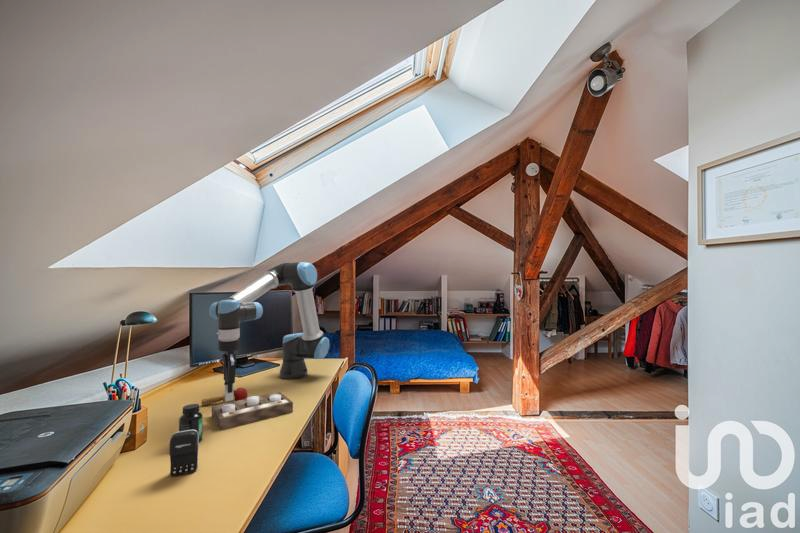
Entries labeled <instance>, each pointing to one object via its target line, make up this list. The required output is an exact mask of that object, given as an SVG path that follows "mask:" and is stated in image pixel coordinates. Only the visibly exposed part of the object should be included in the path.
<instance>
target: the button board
mask: <svg viewBox="0 0 800 533" xmlns="http://www.w3.org/2000/svg"><path fill="white" fill-rule="evenodd" d="M274 394H280V395H281V400H280V401H275V402H270V396H271V395H274ZM258 396H259V405H257V406H253V407H248V408H247V398H246V399H243V400H238V401H234V402H229V403H221V404H216V405H211V417H212V419H213V421H214V422H215V424H216V426H217V429H218V430H219V431H222V430H226V429H229V428H230V429H231V428H234V427H238V426H241V425H242V426H243V425H245V424H250V423H255V422H258V420H259V421H261V420H262V419H263V420H266V418H267V419H271V418H273V417H278V416H282V415H286V414H290V413H293V412H294V402H293V401H292V399H289V397H287V396H286V395H285V394H283V393H282V392H280V391H277V392H272V393H268V394H262V395H258ZM227 404H235V411H231V412H226V413H222V406H224V405H227ZM270 417H271V418H270ZM254 421H255V422H254Z"/></svg>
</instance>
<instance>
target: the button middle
mask: <svg viewBox="0 0 800 533" xmlns="http://www.w3.org/2000/svg"><path fill="white" fill-rule="evenodd" d="M259 396H260V395H251V396H247V398H246V399H247V408H248V407H253V406H257V405H259Z"/></svg>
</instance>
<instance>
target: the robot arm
mask: <svg viewBox="0 0 800 533" xmlns="http://www.w3.org/2000/svg"><path fill="white" fill-rule="evenodd" d="M317 281H318V272H317V269H316V267H315V266H314V264H312V263H310V262H304V261H301V262H299V261H298V262H283V263H280V264H277V265H274V266H273V267H271V268H270V269H268V270H266V271H265V272H263V274H262V276H260V277H259V278H257V279H255V280H254V281H253V282H251V283H249V284H248V285H247V286H245V287H243V288H241V289H240V290H238V291H237V292H235V293H234V294H233V295H231V296H229V297H228V298H226V299H224V300H223V299H222V300H220V301H215V302H213V303H211V305H210V306H209V310H208V312H209V316H210V317H211V318H212V319H213V320H217V323H218V324H217V327H218V331H217V332H216V335H218V338H217V339H218V340H219V341H217V344H218V345H217V350H218V351H219V352H223V354H222V356H221V357H222V366H223V367H222V368H223V381H224V383H223V385H224V396H225V401H231V400H234V398H233V389H234V384H235V383H236V368H237V359H236V358H237V355H236V354H235V351H238V350H239V349H240V345H241V344H240V343H241V341H240V339H239V338H240V337H241V333H240V332H241V331H240V330H241V328H240V327H241V323H243V322H249V321H250V322H251V321H255V320H258V319H260V318H261V317H262V316H263V312H264V310H263V309H264V308H263V306H262V304H261V303H259V302H257V301H256V300H257V299H258V298H260V297H262V296H263V295H264V294H266V293H267V292H268V291H270V290H273V289H277V288H278V287H280V286H290V288H291V291H292V292H294V293H295V296H296V301H297V305H298V312H299V317H300V321H301V327H302V332H296V333H290V334H286V335H284V336H283V338H282V363H281V367H280V368H279V369H280V370H279V373H278V374H279V378H280V379H282V380H283V379H284V380H295V378H296V379H300V378H304V377H306V376H307V375H308V371H309V370H308V367H307V364H306V362H305V359H306V358H307V359H315V360H317V359H318V360H321V359H325V357H326V356H327V355H328V352H329V349H330V339H329V338H328V337H327V336H324V335H325V334H324V331H322V330H321V329H320V324H319V319H318V318H319V317H318V312H317V308H316V303H315V298H314V291H313V288H314V287H315V284H316V283H317Z"/></svg>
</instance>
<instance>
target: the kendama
mask: <svg viewBox="0 0 800 533" xmlns="http://www.w3.org/2000/svg"><path fill="white" fill-rule="evenodd" d="M248 397H249V396H248V390H247V389H246V388H244V387H238V388H236V389H234V388H233V398H234V400H231V401H225V395H221V396H220V395H219V396H214V397H213V396H212V397H207V398H202V399H201V402H200V403H201V406H202V407H206V406H208V405H212V404H215V403H219V402H222V404H224V403H229V402H234V401H238V400H243V399H247V398H248Z"/></svg>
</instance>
